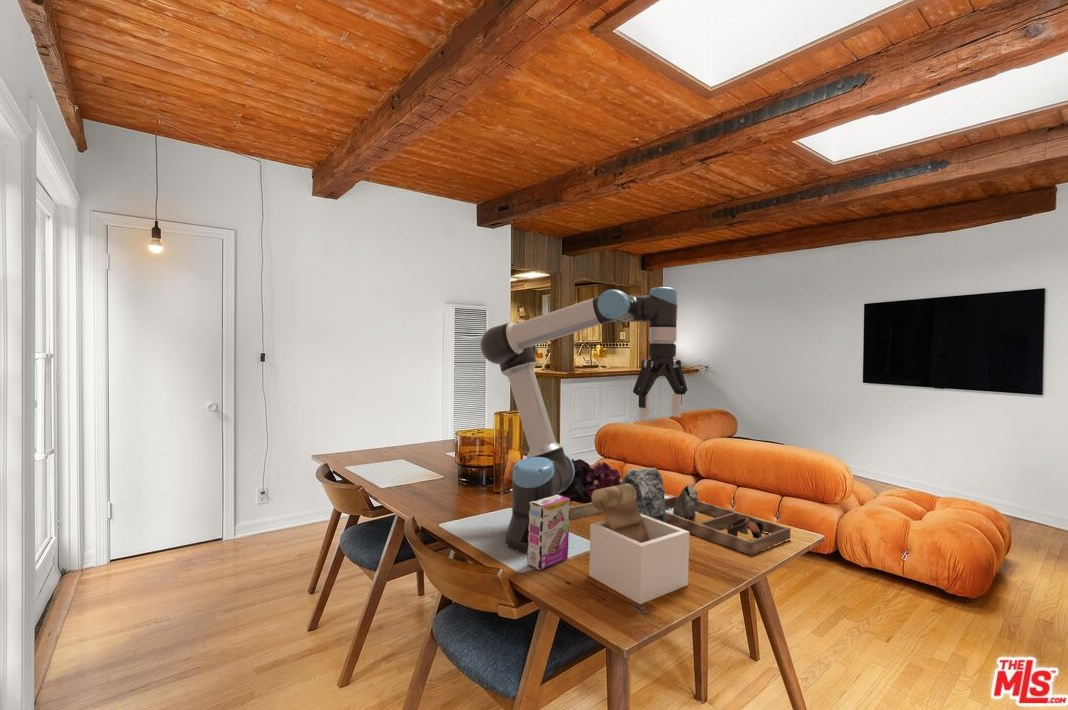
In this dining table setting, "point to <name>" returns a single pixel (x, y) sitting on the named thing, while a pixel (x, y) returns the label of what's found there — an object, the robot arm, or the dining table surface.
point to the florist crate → (584, 509)
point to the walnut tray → (724, 519)
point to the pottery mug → (742, 526)
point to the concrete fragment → (686, 502)
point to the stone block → (648, 491)
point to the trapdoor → (621, 510)
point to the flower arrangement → (590, 480)
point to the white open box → (640, 559)
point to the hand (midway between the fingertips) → (660, 418)
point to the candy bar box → (548, 531)
